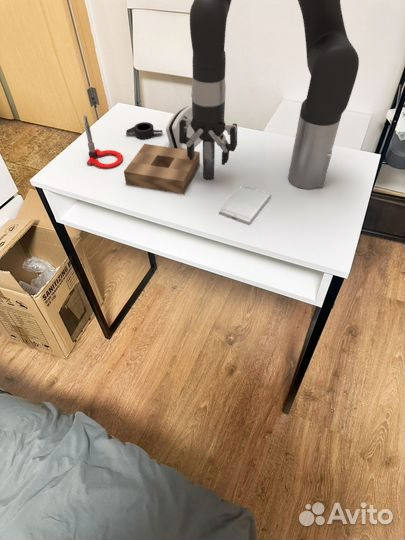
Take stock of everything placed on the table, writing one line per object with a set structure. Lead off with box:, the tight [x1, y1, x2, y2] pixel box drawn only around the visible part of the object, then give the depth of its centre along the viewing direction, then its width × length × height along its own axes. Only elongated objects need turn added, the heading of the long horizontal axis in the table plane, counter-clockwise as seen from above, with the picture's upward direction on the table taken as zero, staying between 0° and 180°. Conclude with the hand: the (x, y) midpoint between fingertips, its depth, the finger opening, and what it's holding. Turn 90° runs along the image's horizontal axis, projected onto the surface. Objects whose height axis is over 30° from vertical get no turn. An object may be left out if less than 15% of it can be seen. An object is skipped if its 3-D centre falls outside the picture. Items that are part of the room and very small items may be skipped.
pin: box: [202, 140, 216, 182], centre depth 97 cm, size 3×3×11 cm
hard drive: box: [218, 184, 272, 226], centre depth 93 cm, size 2×8×12 cm
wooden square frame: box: [123, 143, 201, 195], centre depth 101 cm, size 16×14×4 cm
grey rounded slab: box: [165, 105, 203, 150], centre depth 111 cm, size 17×5×10 cm, turn 153°
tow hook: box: [83, 115, 124, 170], centre depth 102 cm, size 8×13×9 cm
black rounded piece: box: [125, 121, 163, 141], centre depth 116 cm, size 8×10×3 cm
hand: (207, 160), depth 97 cm, fingers open, 8 cm apart
